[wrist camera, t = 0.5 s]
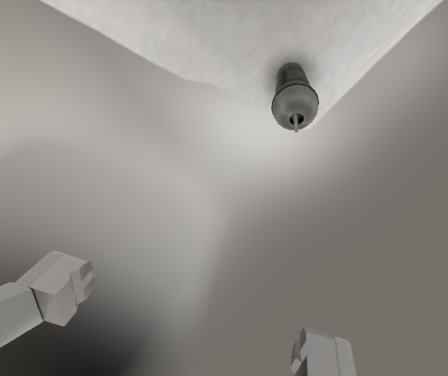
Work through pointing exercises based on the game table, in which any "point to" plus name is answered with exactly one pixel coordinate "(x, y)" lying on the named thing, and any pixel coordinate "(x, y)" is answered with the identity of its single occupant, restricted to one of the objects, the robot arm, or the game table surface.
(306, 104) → the beverage cup
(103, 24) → the game table surface
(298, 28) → the game table surface
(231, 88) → the game table surface
